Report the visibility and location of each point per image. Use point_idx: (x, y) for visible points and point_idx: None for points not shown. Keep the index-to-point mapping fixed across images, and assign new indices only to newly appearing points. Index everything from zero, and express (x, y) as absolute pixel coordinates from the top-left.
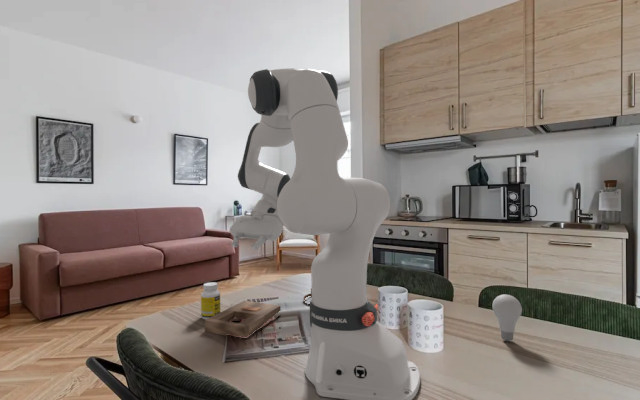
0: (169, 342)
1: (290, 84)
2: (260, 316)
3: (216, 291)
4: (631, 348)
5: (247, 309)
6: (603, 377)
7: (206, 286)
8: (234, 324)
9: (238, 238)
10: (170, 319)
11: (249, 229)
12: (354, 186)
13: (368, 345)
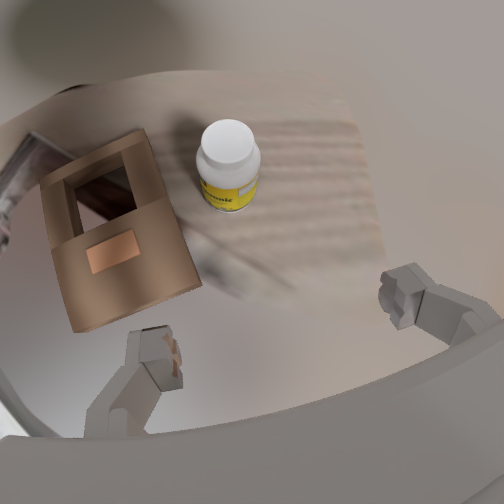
0: (161, 84)
1: None
2: (53, 238)
3: (206, 164)
4: None
5: (112, 238)
6: None
7: (214, 123)
8: (67, 168)
9: (453, 342)
10: (289, 118)
11: (361, 435)
12: None
13: None
